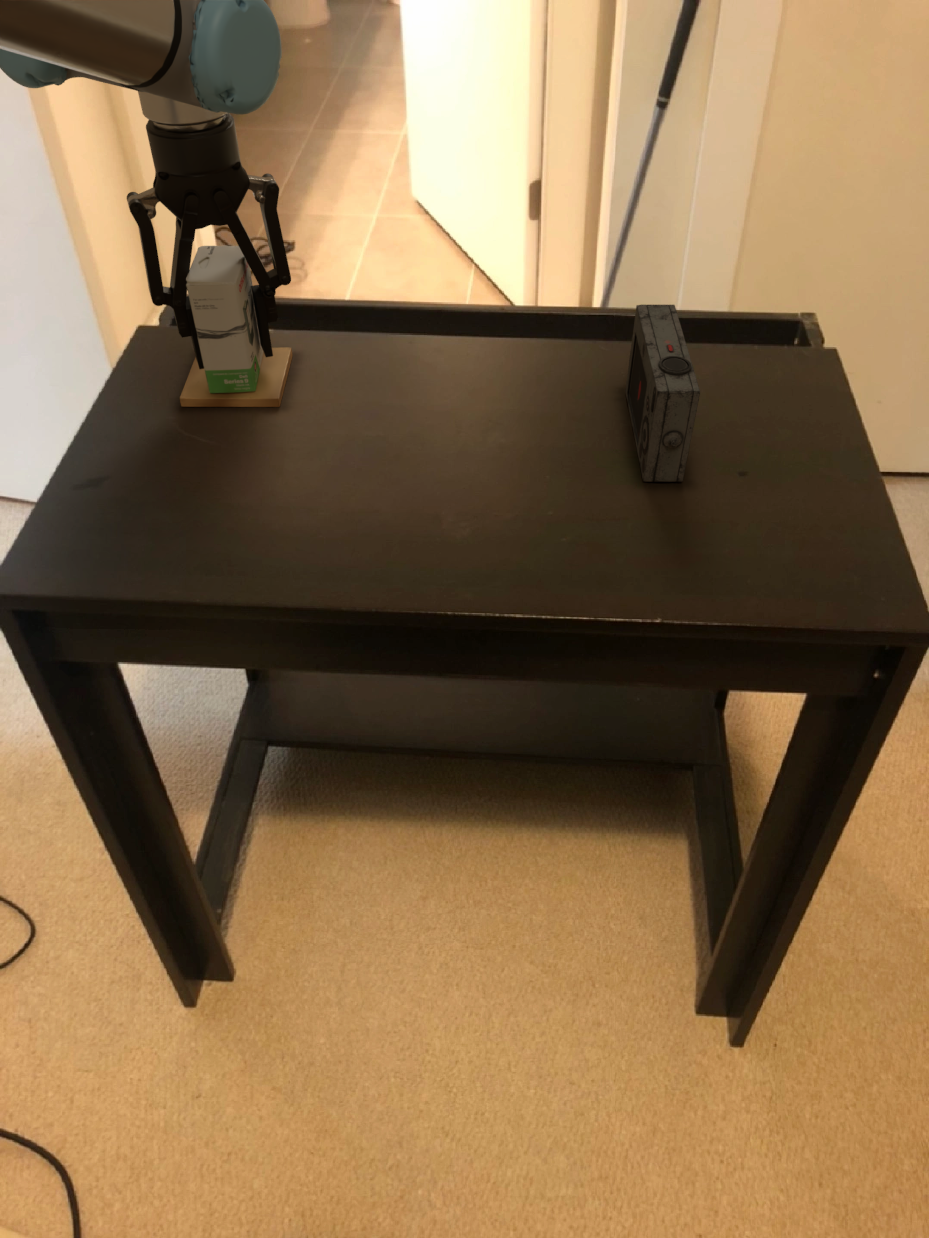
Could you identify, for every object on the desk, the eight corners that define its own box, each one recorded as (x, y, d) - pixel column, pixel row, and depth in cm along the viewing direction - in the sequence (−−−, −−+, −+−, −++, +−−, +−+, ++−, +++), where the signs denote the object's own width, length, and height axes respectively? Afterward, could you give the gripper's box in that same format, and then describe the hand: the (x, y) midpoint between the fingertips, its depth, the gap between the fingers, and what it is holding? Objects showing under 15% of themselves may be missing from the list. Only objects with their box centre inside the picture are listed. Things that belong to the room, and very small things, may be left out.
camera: (686, 490, 90) (705, 395, 83) (643, 490, 90) (658, 395, 83) (661, 392, 101) (676, 301, 94) (623, 392, 101) (635, 301, 94)
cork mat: (181, 407, 99) (179, 398, 99) (200, 355, 106) (198, 347, 106) (279, 407, 99) (278, 398, 99) (292, 355, 106) (291, 347, 106)
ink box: (256, 394, 99) (237, 283, 91) (207, 395, 99) (183, 284, 91) (265, 350, 105) (247, 242, 97) (218, 351, 105) (197, 243, 97)
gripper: (288, 90, 89) (316, 323, 106) (71, 115, 85) (135, 354, 101) (307, 117, 84) (333, 357, 101) (77, 145, 80) (144, 392, 96)
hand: (234, 355), depth 101 cm, fingers closed on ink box, 6 cm apart
